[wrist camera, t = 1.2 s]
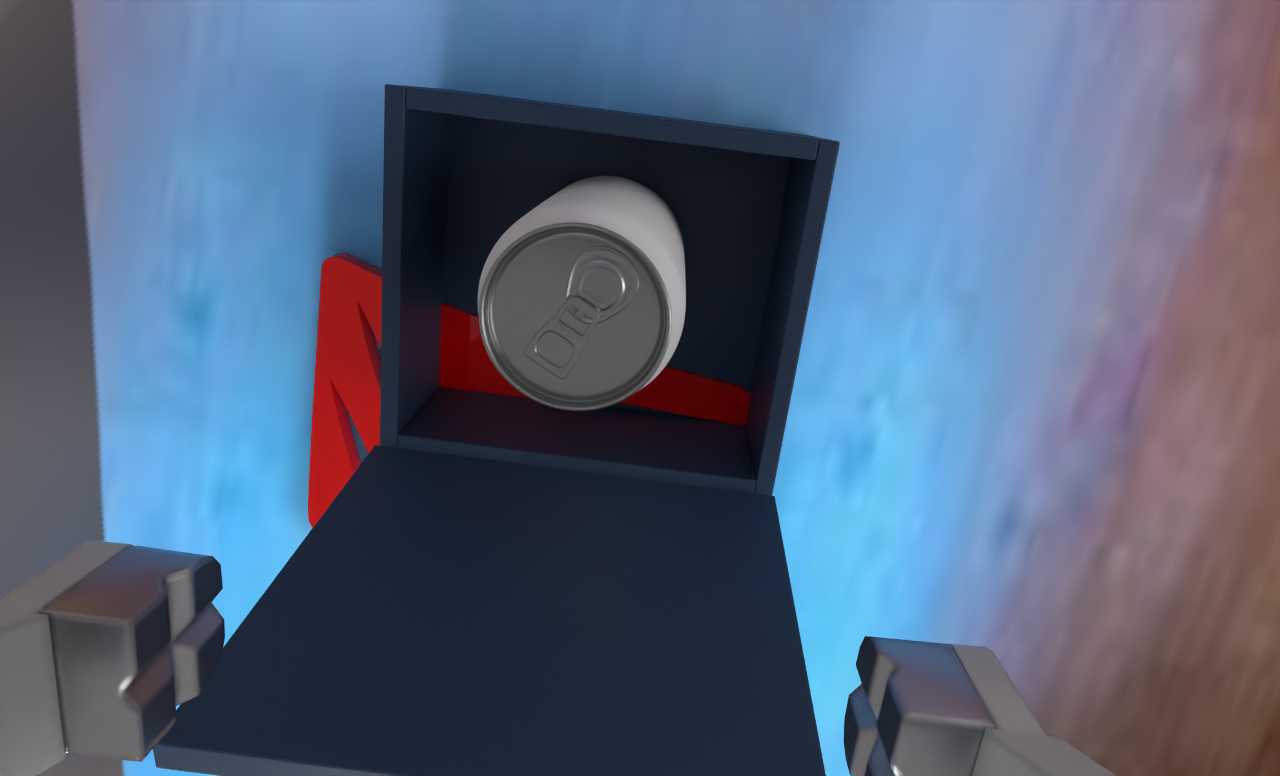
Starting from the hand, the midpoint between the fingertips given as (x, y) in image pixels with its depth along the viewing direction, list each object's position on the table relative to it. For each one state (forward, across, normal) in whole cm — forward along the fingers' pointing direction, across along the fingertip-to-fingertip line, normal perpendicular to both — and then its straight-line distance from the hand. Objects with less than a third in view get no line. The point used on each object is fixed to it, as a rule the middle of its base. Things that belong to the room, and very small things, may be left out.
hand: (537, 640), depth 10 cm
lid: (+13, +1, +7) cm, 15 cm away
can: (+26, +1, -1) cm, 26 cm away
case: (+27, +1, 0) cm, 27 cm away
